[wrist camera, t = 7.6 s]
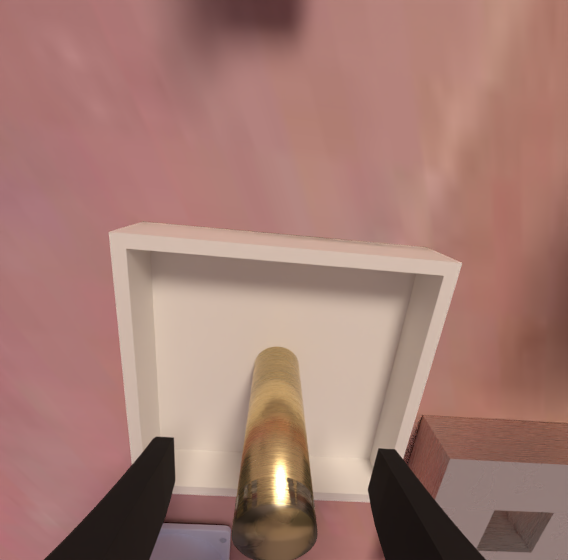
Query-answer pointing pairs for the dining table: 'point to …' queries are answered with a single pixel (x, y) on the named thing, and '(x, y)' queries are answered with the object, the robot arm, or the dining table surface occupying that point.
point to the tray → (274, 344)
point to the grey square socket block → (498, 483)
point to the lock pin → (275, 465)
